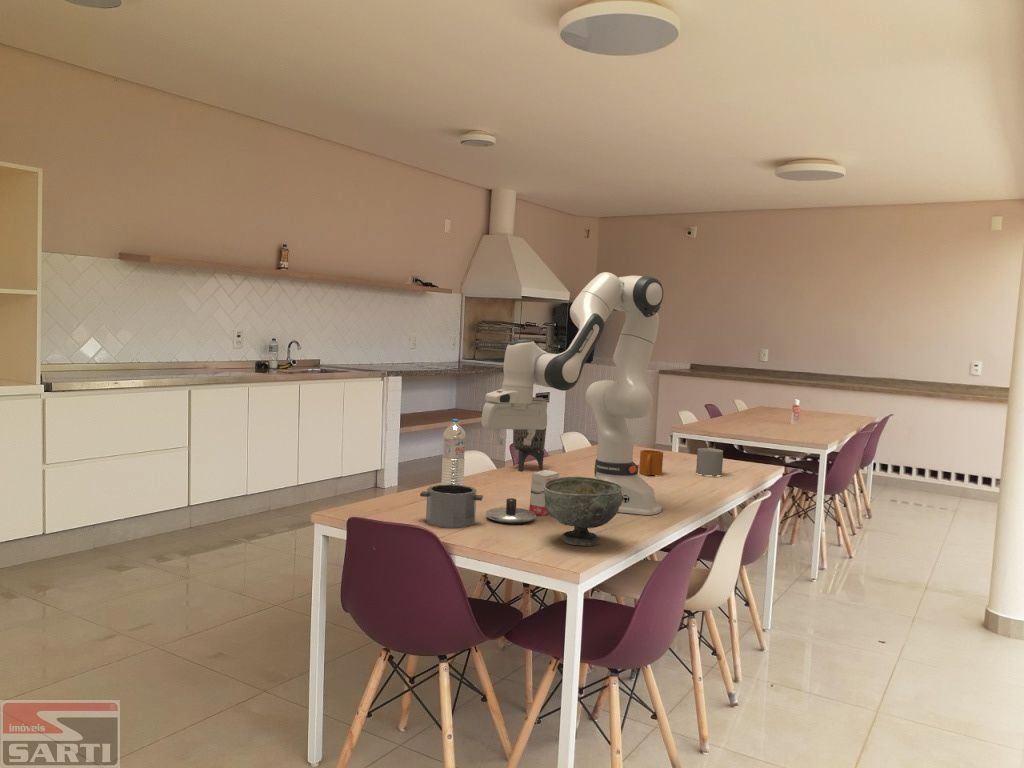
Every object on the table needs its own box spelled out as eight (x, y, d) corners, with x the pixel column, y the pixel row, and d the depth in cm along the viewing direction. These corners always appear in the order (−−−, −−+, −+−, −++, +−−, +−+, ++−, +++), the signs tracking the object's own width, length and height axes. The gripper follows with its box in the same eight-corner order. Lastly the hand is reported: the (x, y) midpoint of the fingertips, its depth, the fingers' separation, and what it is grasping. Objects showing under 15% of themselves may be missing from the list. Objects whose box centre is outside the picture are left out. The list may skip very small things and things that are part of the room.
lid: (543, 518, 225) (544, 498, 225) (523, 528, 213) (524, 507, 212) (499, 511, 231) (499, 491, 231) (477, 521, 219) (477, 500, 218)
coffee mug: (717, 478, 307) (719, 452, 306) (692, 474, 311) (694, 449, 311) (726, 473, 318) (728, 449, 317) (702, 470, 323) (704, 446, 322)
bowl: (531, 545, 196) (534, 485, 195) (555, 528, 214) (558, 473, 213) (608, 556, 189) (612, 494, 188) (626, 538, 207) (630, 482, 206)
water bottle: (445, 502, 239) (449, 420, 238) (437, 497, 245) (440, 418, 244) (466, 501, 242) (470, 420, 241) (457, 496, 248) (461, 417, 247)
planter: (533, 473, 296) (535, 426, 295) (504, 469, 303) (506, 423, 302) (550, 469, 307) (552, 424, 306) (522, 465, 314) (524, 421, 313)
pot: (484, 518, 221) (485, 486, 220) (477, 529, 208) (479, 496, 207) (425, 514, 223) (426, 482, 222) (415, 525, 210) (416, 491, 209)
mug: (632, 475, 304) (633, 452, 304) (644, 471, 314) (645, 449, 314) (653, 478, 300) (655, 454, 299) (665, 474, 310) (666, 451, 309)
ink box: (543, 516, 228) (545, 475, 227) (528, 513, 231) (530, 473, 230) (557, 511, 235) (559, 471, 234) (543, 508, 238) (545, 469, 237)
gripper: (541, 396, 231) (537, 443, 232) (480, 394, 220) (476, 443, 221) (553, 398, 226) (549, 446, 226) (491, 396, 215) (488, 446, 216)
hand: (513, 445), depth 224 cm, fingers open, 8 cm apart
